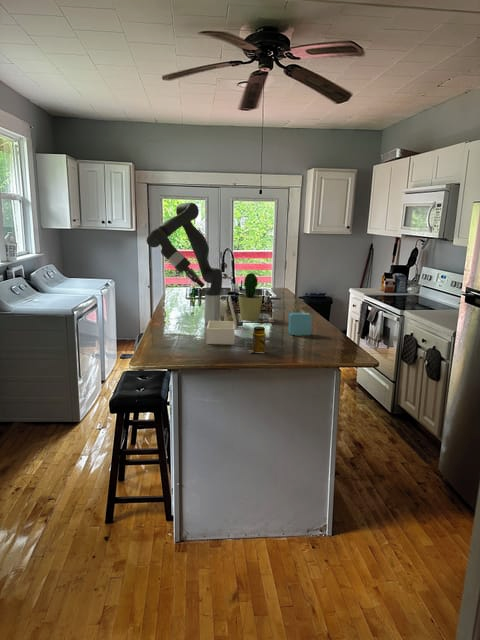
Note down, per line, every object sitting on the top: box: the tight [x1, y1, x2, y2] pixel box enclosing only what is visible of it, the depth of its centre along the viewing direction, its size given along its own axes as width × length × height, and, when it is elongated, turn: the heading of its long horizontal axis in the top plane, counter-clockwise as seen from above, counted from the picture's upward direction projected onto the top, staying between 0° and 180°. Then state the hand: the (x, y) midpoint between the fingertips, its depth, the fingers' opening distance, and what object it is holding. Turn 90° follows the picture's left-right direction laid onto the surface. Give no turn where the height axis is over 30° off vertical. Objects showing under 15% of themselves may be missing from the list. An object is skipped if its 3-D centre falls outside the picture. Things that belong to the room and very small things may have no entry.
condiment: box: [251, 326, 266, 352], centre depth 213 cm, size 7×8×12 cm
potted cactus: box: [238, 272, 264, 322], centre depth 283 cm, size 15×15×30 cm
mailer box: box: [206, 320, 236, 345], centre depth 234 cm, size 14×18×8 cm
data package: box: [288, 312, 313, 337], centre depth 248 cm, size 12×4×12 cm, turn 95°
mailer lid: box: [228, 294, 237, 330], centre depth 232 cm, size 14×18×1 cm
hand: (203, 286), depth 229 cm, fingers closed
